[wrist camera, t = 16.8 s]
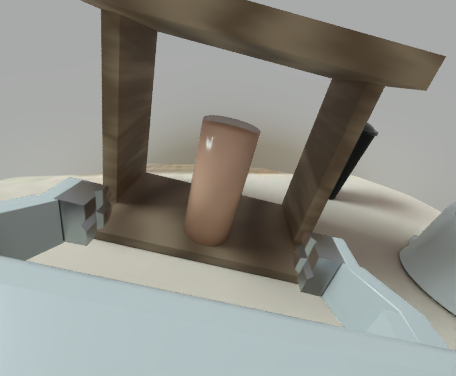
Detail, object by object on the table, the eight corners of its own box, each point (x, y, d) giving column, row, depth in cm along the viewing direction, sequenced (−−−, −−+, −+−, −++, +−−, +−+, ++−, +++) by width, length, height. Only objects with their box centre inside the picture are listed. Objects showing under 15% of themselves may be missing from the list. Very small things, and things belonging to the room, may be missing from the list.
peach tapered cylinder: (230, 220, 29) (258, 124, 23) (228, 250, 24) (263, 139, 19) (188, 211, 28) (206, 112, 23) (178, 239, 24) (198, 123, 18)
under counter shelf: (288, 212, 36) (352, 63, 27) (312, 286, 24) (445, 56, 14) (135, 176, 35) (145, 6, 26) (75, 234, 23) (52, -55, 13)
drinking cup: (299, 190, 45) (346, 78, 36) (308, 180, 51) (351, 82, 42) (339, 208, 42) (401, 91, 33) (344, 195, 48) (398, 94, 39)
